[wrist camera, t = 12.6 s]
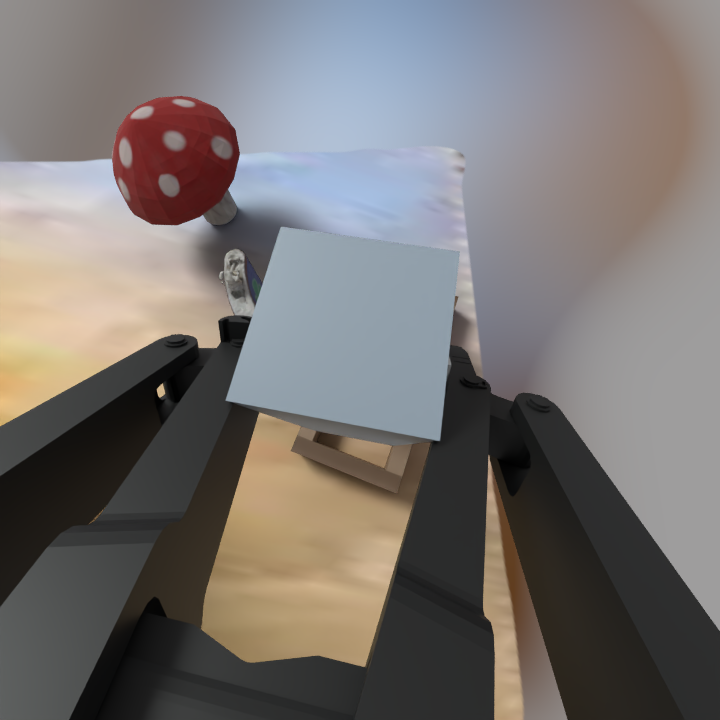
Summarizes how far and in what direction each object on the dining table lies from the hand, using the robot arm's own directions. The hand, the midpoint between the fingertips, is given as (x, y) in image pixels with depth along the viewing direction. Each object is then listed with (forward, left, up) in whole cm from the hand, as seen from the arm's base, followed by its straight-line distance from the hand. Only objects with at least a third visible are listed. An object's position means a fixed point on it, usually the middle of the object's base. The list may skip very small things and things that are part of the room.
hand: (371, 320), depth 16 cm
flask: (+4, +16, -21) cm, 27 cm away
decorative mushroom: (+16, +30, -21) cm, 41 cm away
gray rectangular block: (-4, -1, -4) cm, 5 cm away
